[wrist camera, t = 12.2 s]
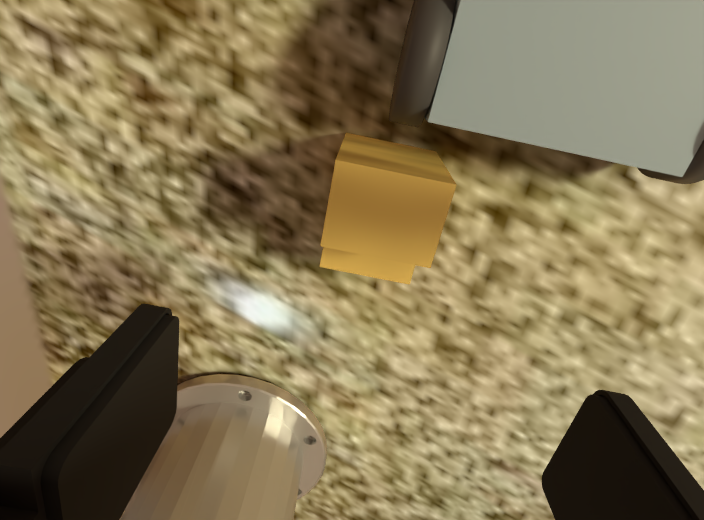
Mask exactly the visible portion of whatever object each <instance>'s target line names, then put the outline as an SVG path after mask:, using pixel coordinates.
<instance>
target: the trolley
mask: <svg viewBox="0 0 704 520" xmlns="http://www.w3.org/2000/svg"><path fill="white" fill-rule="evenodd" d="M424 117H425V119H426V120H427V121H428V122H430V123H435V124H439V125H444V126H449V127H453V128H458V129H462V130H467V131H472V132H476V133H481V134H485V135H490V136H495V137H499V138H504V139H508V140H513V141H518V142H522V143H527V144H532V145H536V146H541V147H545V148H550V149H555V150H559V151H564V152H568V153H573V154H578V155H582V156H587V157H591V158H596V159H601V160H605V161H610V162H614V163H619V164H624V165H628V166H633V167H637V168H638V170H639V171H640V172H641V173H642V174H644V175H646V176H648V177H651V178H656V179H660V180H665V181H670V182H674V183H680V184H691V183H695V182H699V181H702V180H704V0H456V1H455V0H414V3H413V7H412V11H411V14H410V18H409V22H408V26H407V30H406V34H405V38H404V43H403V47H402V51H401V56H400V60H399V65H398V69H397V74H396V79H395V84H394V89H393V94H392V100H391V106H390V113H389V121H392V122H397V123H401V124H406V125H411V126H415V127H419V126H420V125H421V123H422V121H423V119H424Z"/></svg>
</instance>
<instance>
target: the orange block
mask: <svg viewBox="0 0 704 520" xmlns="http://www.w3.org/2000/svg"><path fill="white" fill-rule="evenodd" d="M455 188H456V183H455V182H454V180H453V178H452V177H451V175H450V173H449V172H448V170H447V169H446V167H445V165H444V164H443V162H442V160H441V159H440V157H439V156H438V154H437V152H436V151H432V150H427V149H422V148H417V147H413V146H408V145H403V144H398V143H393V142H389V141H384V140H379V139H374V138H370V137H365V136H360V135H355V134H350V133H346V134H345V137H344V139H343V142H342V145H341V147H340V150H339V152H338V155H337V157H336V160H335V166H334V172H333V177H332V183H331V189H330V194H329V200H328V206H327V211H326V217H325V223H324V228H323V234H322V240H321V245H320V246H322V247H323V251H322V256H321V262H320V267H323V268H328V269H333V270H339V271H344V272H349V273H354V274H359V275H364V276H369V277H374V278H379V279H384V280H389V281H395V282H400V283H405V284H410V281H411V278H412V274H413V271H414V267H415V265H417V266H422V267H427V268H431V265H432V261H433V258H434V255H435V252H436V249H437V245H438V242H439V239H440V236H441V233H442V230H443V226H444V223H445V220H446V217H447V214H448V210H449V207H450V204H451V201H452V198H453V194H454V191H455Z"/></svg>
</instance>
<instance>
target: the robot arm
mask: <svg viewBox="0 0 704 520" xmlns="http://www.w3.org/2000/svg"><path fill="white" fill-rule="evenodd" d="M178 347H179V318H178V317H176V316H172V312H171V309H169V308H165V307H159V306H154V305H149V304H141V305H140V306H139V307H138V308H137V309H136V310H135V311H134V312H133V313H132V314H131V315H130V316H129V317H128V318H127V319H126V320H125V321H124V322H123V323H122V324H121V325H120V326H119V327H118V328H117V329H116V331H115V332H114V333H113V334H112V335H111V336H110V337H109V338H108V339H107V340H106V341H105V342H104V343H103V344H102V345H101V346H100V347H99V348H98V349H97V350H96V351H95V352H94V353H93V354H92V356H91V357H90V358H88V357H85V358H82V359H80V360H79V361H77V362H76V363H75V364H74V365H73V366H72V367H71V368H70V369H69V370H68V371H67V372H66V373H65V374H64V375H63V376H62V377H61V378H60V379H59V380H58V381H57V382H56V383H55V384H54V385H53V386H52V387H51V388H50V389H49V390H48V391H47V392H46V393H45V394H44V395H43V396H42V397H41V398H40V399H39V400H38V401H37V402H36V403H35V404H34V405H33V406H32V407H31V408H30V409H29V410H28V411H27V412H26V413H25V414H24V415H23V416H22V417H21V418H20V419H19V420H18V421H17V422H16V423H15V424H14V425H13V426H12V427H11V428H10V429H9V430H8V431H7V432H6V433H5V434H4V435H3V436H2V437H1V438H0V520H119V519H120V517H121V516H122V517H121V519H120V520H293V518H294V512H295V507H296V501H297V500H298V499H299V498H301V497H303V496H304V495H306V494H307V493H308V492H309V491H310V490H311V489H313V488H314V487H315V486H316V484H317V483H318V481H319V480H320V478H321V476H322V474H323V471H324V468H325V464H326V455H327V443H326V436H325V434H324V431H323V428H322V426H321V424H320V422H319V421H318V419H317V418H316V416H315V415H314V413H313V412H312V411H311V410H310V409H309V408H308V407H307V406H306V405H305V404H304V403H303V402H302V401H300V400H299V399H298V398H296V397H295V396H293V395H292V394H291V393H289V392H288V391H286V390H284V389H282V388H280V387H278V386H276V385H274V384H271V383H268V382H265V381H262V380H259V379H256V378H252V377H246V376H241V375H229V374H216V375H208V376H200V377H197V378H194V379H191V380H187V381H185V382H183V383H181V384H179V385H177V381H178ZM542 487H543V491H544V493H545V496H546V498H547V501H548V503H549V505H550V508H551V510H552V513H553V515H554V518H555V520H704V490H703V489H702V488H701V486H700V485H699V484H698V483H697V481H696V480H695V479H694V477H693V476H692V475H691V474H690V472H689V471H688V470H687V469H686V467H685V466H684V465H683V463H682V462H681V461H680V460H679V458H678V457H677V456H676V455H675V453H674V452H673V451H672V449H671V448H670V447H669V446H668V444H667V443H666V442H665V441H664V439H663V438H662V437H661V435H660V434H659V433H658V432H657V430H656V429H655V428H654V427H653V425H652V424H651V423H650V421H649V420H648V419H647V418H646V416H645V415H644V414H643V413H642V411H641V410H640V409H639V407H638V406H637V405H636V404H635V402H634V401H633V400H632V399H631V398H630V397H629V396H628V395H625V394H621V393H616V392H610V391H605V390H598V391H596V392H595V393H594V394H593V395H589V396H588V397H587V398H586V399H585V401H584V402H583V404H582V406H581V408H580V409H579V411H578V413H577V415H576V416H575V418H574V420H573V422H572V423H571V425H570V427H569V429H568V430H567V432H566V434H565V436H564V437H563V439H562V441H561V443H560V444H559V446H558V448H557V450H556V451H555V453H554V455H553V456H552V458H551V460H550V462H549V463H548V465H547V467H546V469H545V470H544V472H543V475H542ZM124 510H125V512H124ZM123 512H124V514H123ZM122 514H123V515H122Z"/></svg>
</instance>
